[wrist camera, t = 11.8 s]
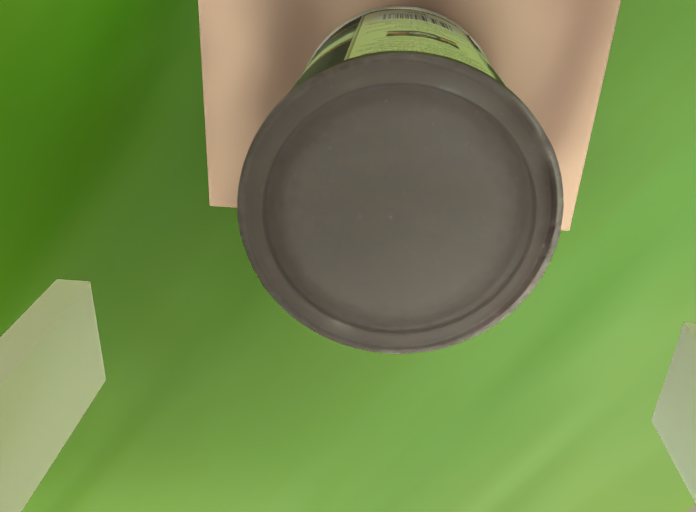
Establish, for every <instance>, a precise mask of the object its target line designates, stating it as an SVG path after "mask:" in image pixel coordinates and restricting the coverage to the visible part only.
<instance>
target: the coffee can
mask: <svg viewBox="0 0 696 512" xmlns="http://www.w3.org/2000/svg"><path fill="white" fill-rule="evenodd" d="M563 208H564V202H563V185H562V176H561V172H560V168H559V163H558V160H557V157H556V154H555V151H554V149H553V146H552V144H551V142H550V141H549V139H548V137H547V135H546V133H545V132H544V130H543V128H542V127H541V125H540V123H539V122H538V120H537V119H536V117H535V116H534V115H533V114H532V112H531V111H530V110H529V108H528V107H527V106H526V105H525V104H524V103H523V102H522V101H521V99H520V98H518V97H517V96H516V95H515V94H514V93H513V92H512V91H511V90H510V89H508V88H507V86H506V85H505V84H504V82H503V81H502V79H501V78H500V76H499V75H498V73H497V72H496V71H495V70H494V69H493V67H492V66H491V64H490V63H489V61H488V59H487V57H486V55H485V53H484V52H483V50H482V48H481V47H480V46H479V44H478V43H477V42H476V41H475V39H474V38H473V37H472V36H471V35H470V34H469V33H468V32H467V31H466V30H464V29H463V28H462V27H461V26H460V25H458V24H457V23H456V22H454V21H452V20H451V19H449V18H448V17H446V16H443V15H441V14H439V13H436V12H433V11H430V10H427V9H423V8H418V7H411V6H389V7H382V8H377V9H373V10H369V11H365V12H363V13H360V14H358V15H356V16H355V17H353V18H351V19H349V20H347V21H346V22H344V23H342V24H341V25H340V26H338V27H337V28H336V29H335V30H333V31H332V32H331V33H330V34H329V35H328V36H327V37H326V38H325V39H324V40H323V41H322V43H321V44H320V45H319V46H318V48H317V49H316V50H315V52H314V54H313V55H312V57H311V59H310V60H309V62H308V64H307V66H306V68H305V70H304V72H303V73H302V74H301V76H300V78H299V79H298V81H297V82H296V84H295V85H294V87H293V88H292V89H291V91H290V92H289V93H288V94H287V95H286V96H285V97H284V98H283V99H282V100H281V101H280V102H279V103H278V104H277V105H276V107H275V108H274V109H273V110H272V111H271V112H270V113H269V115H268V116H267V117H266V119H265V120H264V122H263V124H262V125H261V127H260V128H259V130H258V132H257V133H256V135H255V137H254V139H253V141H252V143H251V145H250V147H249V150H248V152H247V155H246V158H245V160H244V163H243V167H242V171H241V175H240V180H239V185H238V195H237V212H238V223H239V229H240V234H241V237H242V241H243V245H244V247H245V250H246V253H247V255H248V258H249V260H250V262H251V265H252V267H253V269H254V271H255V272H256V274H257V276H258V278H259V279H260V281H261V283H262V285H263V286H264V287H265V289H266V290H267V291H268V292H269V294H270V295H271V296H272V297H273V298H274V299H275V301H276V302H277V303H278V304H279V305H280V306H281V307H282V308H283V309H284V310H285V311H286V312H287V313H289V314H290V315H291V316H292V317H293V318H295V319H296V320H297V321H299V322H300V323H302V324H303V325H305V326H307V327H308V328H310V329H311V330H313V331H314V332H316V333H318V334H320V335H321V336H323V337H326V338H328V339H330V340H333V341H335V342H338V343H341V344H343V345H346V346H351V347H354V348H357V349H362V350H366V351H371V352H380V353H393V354H405V353H417V352H425V351H432V350H437V349H441V348H445V347H448V346H452V345H455V344H458V343H460V342H463V341H466V340H468V339H470V338H472V337H474V336H476V335H478V334H481V333H482V332H484V331H486V330H488V329H489V328H491V327H493V326H494V325H496V324H497V323H499V322H500V321H501V320H503V319H504V318H505V317H507V316H508V315H509V314H510V313H512V312H513V311H514V310H515V309H516V308H517V307H518V306H519V305H520V304H521V303H522V302H523V301H524V300H525V299H526V298H527V297H528V295H529V294H530V293H531V292H532V290H533V289H534V288H535V286H536V285H537V284H538V282H539V281H540V279H541V278H542V276H543V274H544V272H545V270H546V269H547V267H548V265H549V263H550V261H551V259H552V256H553V254H554V251H555V249H556V246H557V243H558V239H559V236H560V231H561V225H562V219H563Z"/></svg>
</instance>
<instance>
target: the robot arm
mask: <svg viewBox="0 0 696 512" xmlns="http://www.w3.org/2000/svg"><path fill="white" fill-rule="evenodd" d="M105 381H106V376H105V370H104V363H103V357H102V351H101V345H100V339H99V332H98V326H97V320H96V314H95V308H94V301H93V295H92V289H91V283H90V281H77V280H63V279H56V280H55V282H54V283H53V284H52V285H51V286H50V287H49V288H48V289H47V290H46V291H45V292H44V293H43V294H42V295H41V296H40V297H39V298H38V299H37V300H36V301H35V302H34V303H33V304H32V305H31V306H30V307H29V308H28V309H27V310H26V311H25V312H24V313H23V314H22V315H21V316H20V317H19V318H18V319H17V321H16V322H15V323H14V324H13V325H12V326H11V327H10V328H9V329H8V330H7V331H6V332H5V333H4V334H3V335H2V336H1V337H0V512H21V511H22V510H23V508H24V507H25V505H26V504H27V502H28V501H29V499H30V497H31V496H32V494H33V493H34V491H35V490H36V488H37V487H38V485H39V483H40V482H41V480H42V479H43V477H44V476H45V474H46V473H47V471H48V470H49V468H50V466H51V465H52V463H53V462H54V460H55V459H56V457H57V456H58V454H59V452H60V451H61V449H62V448H63V446H64V445H65V443H66V442H67V440H68V438H69V437H70V435H71V434H72V432H73V431H74V429H75V428H76V426H77V424H78V423H79V421H80V420H81V418H82V417H83V415H84V414H85V412H86V410H87V409H88V407H89V406H90V404H91V403H92V401H93V400H94V398H95V396H96V395H97V393H98V392H99V390H100V389H101V387H102V386H103V384H104V382H105ZM651 421H652V423H653V425H654V426H655V428H656V430H657V432H658V434H659V436H660V438H661V440H662V441H663V443H664V445H665V447H666V449H667V451H668V453H669V455H670V457H671V458H672V460H673V462H674V464H675V466H676V468H677V470H678V472H679V473H680V475H681V477H682V479H683V481H684V483H685V485H686V487H687V489H688V490H689V492H690V494H691V496H692V498H693V500H694V502H695V504H696V323H687V322H684V324H683V327H682V330H681V333H680V336H679V339H678V342H677V345H676V348H675V351H674V354H673V357H672V360H671V363H670V366H669V369H668V372H667V375H666V378H665V381H664V384H663V387H662V390H661V393H660V396H659V399H658V402H657V405H656V408H655V411H654V414H653V417H652V420H651Z"/></svg>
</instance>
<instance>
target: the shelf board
mask: <svg viewBox="0 0 696 512" xmlns="http://www.w3.org/2000/svg"><path fill="white" fill-rule="evenodd" d="M620 2H621V0H198V8H199V26H200V43H201V61H202V79H203V96H204V114H205V132H206V149H207V167H208V184H209V202H210V206H221V207H236V208H237V195H238V185H239V180H240V175H241V171H242V167H243V163H244V160H245V158H246V155H247V152H248V150H249V147H250V145H251V143H252V141H253V139H254V137H255V135H256V133H257V132H258V130H259V128H260V127H261V125H262V124H263V122H264V120H265V119H266V117H267V116H268V115H269V113H270V112H271V111H272V110H273V109H274V108H275V107H276V105H277V104H278V103H279V102H280V101H281V100H282V99H283V98H284V97H285V96H286V95H287V94H288V93H289V92H290V91H291V89H292V88H293V87H294V85H295V84H296V82H297V81H298V79H299V78H300V76H301V74H302V73H303V72H304V70H305V68H306V66H307V64H308V62H309V60H310V59H311V57H312V55H313V54H314V52H315V50H316V49H317V48H318V46H319V45H320V44H321V43H322V41H323V40H324V39H325V38H326V37H327V36H328V35H329V34H330V33H331V32H332V31H333V30H335V29H336V28H337V27H338V26H340V25H341V24H342V23H344V22H346V21H347V20H349V19H351V18H353V17H355V16H356V15H358V14H360V13H363V12H365V11H369V10H373V9H377V8H382V7H389V6H411V7H418V8H423V9H427V10H430V11H433V12H436V13H439V14H441V15H443V16H446V17H448V18H449V19H451V20H452V21H454V22H456V23H457V24H458V25H460V26H461V27H462V28H463V29H464V30H466V31H467V32H468V33H469V34H470V35H471V36H472V37H473V38H474V39H475V41H476V42H477V43H478V44H479V46H480V47H481V48H482V50H483V52H484V53H485V55H486V57H487V59H488V61H489V63H490V64H491V66H492V67H493V69H494V70H495V71H496V72H497V73H498V75H499V76H500V78H501V79H502V81H503V82H504V84H505V85H506V86H507V88H508V89H510V90H511V91H512V92H513V93H514V94H515V95H516V96H517V97H518V98H520V99H521V101H522V102H523V103H524V104H525V105H526V106H527V107H528V108H529V110H530V111H531V112H532V114H533V115H534V116H535V117H536V119H537V120H538V122H539V123H540V125H541V127H542V128H543V130H544V132H545V133H546V135H547V137H548V139H549V141H550V142H551V144H552V146H553V149H554V151H555V154H556V157H557V160H558V163H559V168H560V172H561V176H562V185H563V202H564V208H563V219H562V225H561V230H567V231H569V230H570V225H571V221H572V216H573V212H574V207H575V203H576V198H577V194H578V190H579V185H580V181H581V176H582V172H583V167H584V163H585V158H586V154H587V149H588V145H589V140H590V136H591V132H592V127H593V123H594V118H595V114H596V109H597V105H598V100H599V96H600V91H601V87H602V83H603V78H604V74H605V69H606V65H607V60H608V56H609V51H610V47H611V42H612V38H613V33H614V29H615V25H616V20H617V16H618V11H619V7H620Z"/></svg>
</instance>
